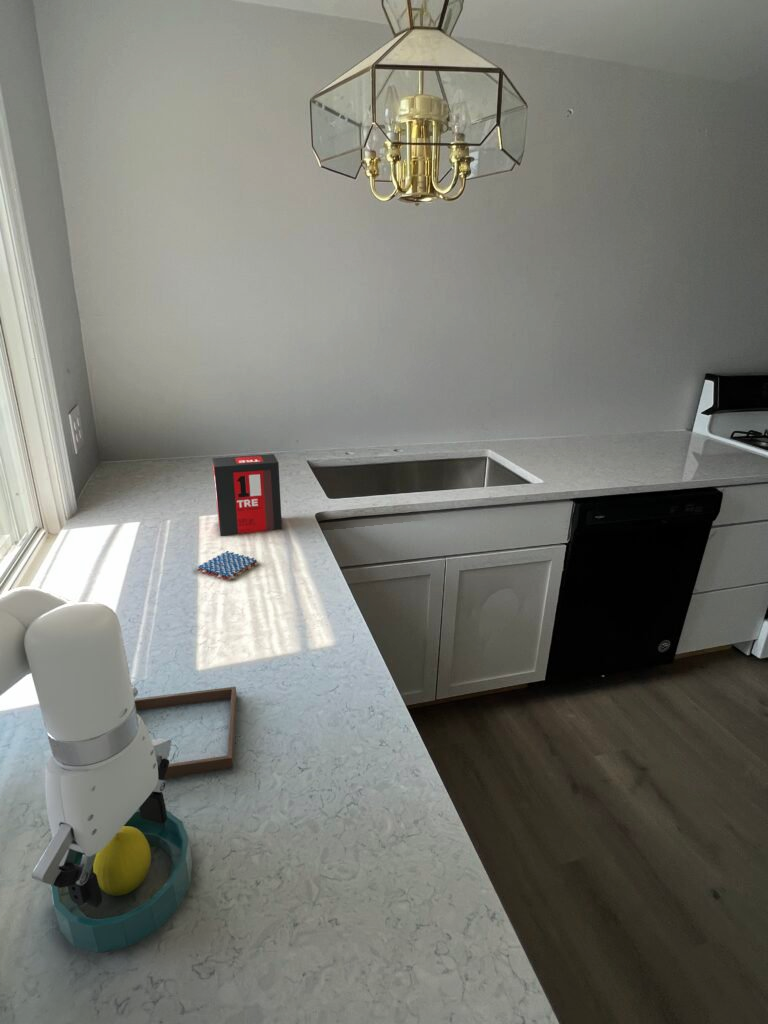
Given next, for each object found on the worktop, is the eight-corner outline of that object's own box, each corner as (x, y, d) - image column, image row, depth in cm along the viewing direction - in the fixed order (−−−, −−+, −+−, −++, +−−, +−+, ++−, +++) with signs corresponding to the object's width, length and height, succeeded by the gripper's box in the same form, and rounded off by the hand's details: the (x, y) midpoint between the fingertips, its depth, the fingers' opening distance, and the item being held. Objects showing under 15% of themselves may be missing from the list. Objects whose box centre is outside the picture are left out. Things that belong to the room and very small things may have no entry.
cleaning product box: (220, 538, 150) (213, 466, 143) (219, 526, 158) (212, 458, 151) (282, 531, 155) (278, 462, 148) (277, 520, 163) (273, 454, 156)
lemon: (88, 901, 59) (74, 847, 56) (127, 856, 64) (116, 804, 61) (129, 920, 57) (117, 866, 55) (166, 872, 62) (157, 820, 59)
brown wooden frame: (97, 792, 73) (94, 777, 72) (123, 713, 87) (120, 700, 86) (233, 772, 76) (231, 757, 75) (237, 699, 90) (235, 686, 89)
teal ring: (41, 969, 54) (31, 938, 52) (80, 845, 66) (73, 817, 64) (184, 939, 56) (179, 909, 55) (197, 826, 68) (193, 799, 67)
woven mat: (194, 573, 130) (194, 566, 130) (226, 556, 139) (225, 549, 138) (229, 584, 126) (228, 576, 125) (259, 566, 135) (258, 558, 134)
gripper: (127, 667, 62) (149, 784, 68) (-21, 789, 46) (24, 926, 52) (185, 681, 60) (202, 801, 66) (49, 813, 44) (88, 953, 50)
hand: (123, 856), depth 59 cm, fingers open, 9 cm apart
